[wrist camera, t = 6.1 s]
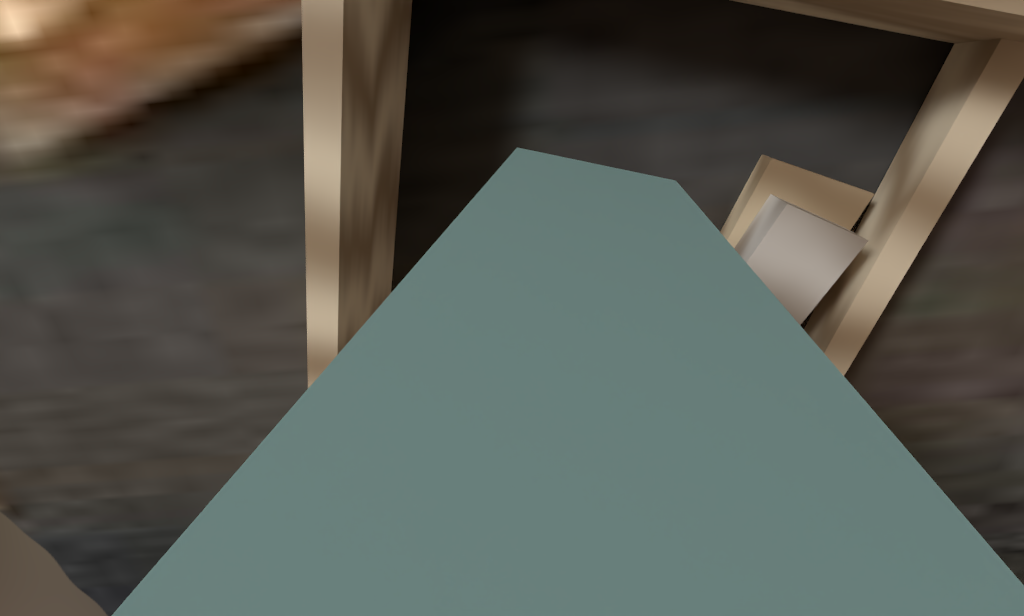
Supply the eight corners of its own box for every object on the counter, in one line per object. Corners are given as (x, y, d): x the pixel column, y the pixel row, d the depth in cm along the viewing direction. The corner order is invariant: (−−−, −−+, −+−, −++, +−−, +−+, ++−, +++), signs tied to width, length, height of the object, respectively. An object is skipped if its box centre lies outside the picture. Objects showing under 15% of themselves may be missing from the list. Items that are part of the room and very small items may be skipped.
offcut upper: (770, 193, 22) (787, 203, 20) (845, 227, 22) (868, 240, 21) (661, 357, 27) (667, 377, 25) (724, 384, 27) (735, 406, 25)
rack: (380, -110, 20) (290, -198, 14) (1013, 9, 19) (1222, -28, 13) (358, 402, 33) (305, 478, 26) (742, 493, 32) (781, 595, 25)
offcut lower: (757, 152, 23) (771, 158, 22) (852, 185, 23) (874, 193, 22) (646, 361, 29) (650, 379, 27) (722, 387, 29) (731, 407, 27)
